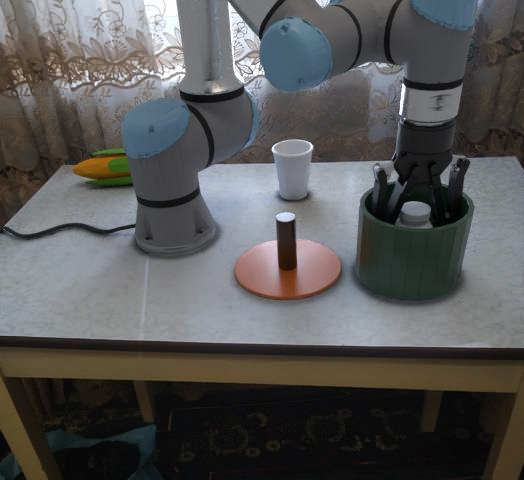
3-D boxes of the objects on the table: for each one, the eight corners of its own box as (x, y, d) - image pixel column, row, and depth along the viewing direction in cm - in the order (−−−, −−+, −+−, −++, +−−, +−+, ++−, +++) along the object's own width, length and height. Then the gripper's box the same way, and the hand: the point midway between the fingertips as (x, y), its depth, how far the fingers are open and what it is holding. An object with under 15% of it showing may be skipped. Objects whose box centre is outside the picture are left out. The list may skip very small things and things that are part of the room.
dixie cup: (279, 205, 108) (277, 157, 101) (270, 188, 114) (267, 142, 108) (318, 199, 109) (318, 151, 102) (307, 183, 115) (307, 136, 108)
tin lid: (240, 309, 82) (234, 253, 76) (231, 250, 96) (225, 198, 89) (352, 295, 83) (356, 238, 77) (328, 239, 97) (329, 186, 90)
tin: (370, 309, 80) (377, 237, 72) (344, 253, 93) (347, 186, 84) (476, 296, 81) (494, 223, 73) (436, 242, 93) (448, 174, 85)
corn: (153, 151, 114) (61, 158, 114) (159, 185, 119) (71, 192, 119) (157, 141, 120) (70, 148, 120) (163, 174, 125) (79, 180, 125)
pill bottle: (426, 282, 84) (437, 218, 76) (387, 280, 85) (394, 217, 77) (425, 262, 88) (435, 199, 81) (388, 260, 89) (394, 198, 82)
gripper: (365, 134, 67) (356, 284, 82) (509, 118, 68) (474, 269, 83) (350, 116, 73) (344, 259, 88) (484, 101, 74) (455, 245, 89)
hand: (407, 264), depth 86 cm, fingers closed on pill bottle, 6 cm apart
